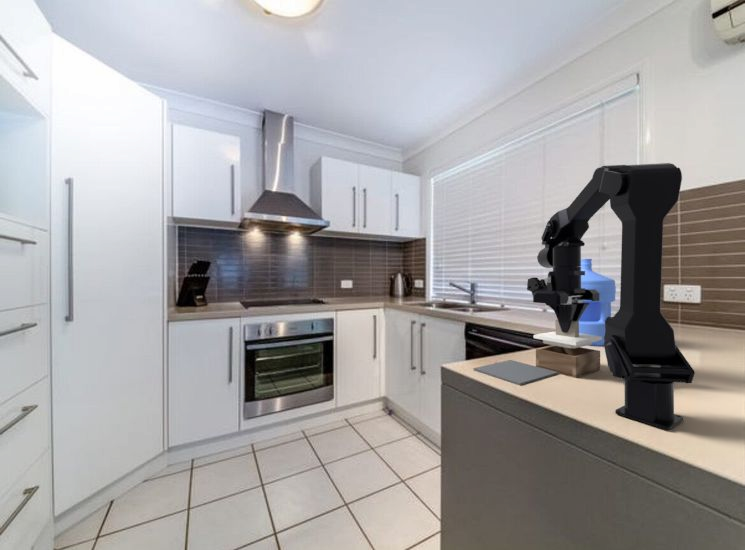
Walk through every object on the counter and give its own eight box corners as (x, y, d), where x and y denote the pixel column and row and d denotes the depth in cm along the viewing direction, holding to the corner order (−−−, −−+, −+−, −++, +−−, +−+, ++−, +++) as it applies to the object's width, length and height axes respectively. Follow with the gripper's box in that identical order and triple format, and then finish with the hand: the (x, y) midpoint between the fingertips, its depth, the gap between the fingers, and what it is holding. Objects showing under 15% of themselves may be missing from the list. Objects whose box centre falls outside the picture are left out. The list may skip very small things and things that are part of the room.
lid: (576, 350, 66) (576, 325, 66) (533, 342, 74) (533, 320, 74) (601, 344, 72) (601, 321, 72) (559, 337, 80) (559, 316, 80)
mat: (520, 385, 62) (520, 383, 62) (473, 369, 72) (473, 368, 72) (558, 373, 69) (558, 372, 69) (510, 361, 79) (510, 359, 79)
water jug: (549, 337, 110) (548, 260, 110) (586, 336, 113) (585, 260, 113) (587, 347, 94) (586, 257, 95) (629, 345, 97) (628, 257, 97)
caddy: (576, 377, 66) (575, 357, 66) (535, 367, 74) (535, 348, 74) (600, 369, 72) (600, 350, 72) (560, 360, 80) (560, 343, 80)
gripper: (554, 268, 85) (554, 324, 85) (512, 267, 75) (512, 330, 75) (600, 267, 75) (600, 330, 75) (558, 266, 66) (559, 338, 66)
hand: (567, 332), depth 73 cm, fingers closed on lid
